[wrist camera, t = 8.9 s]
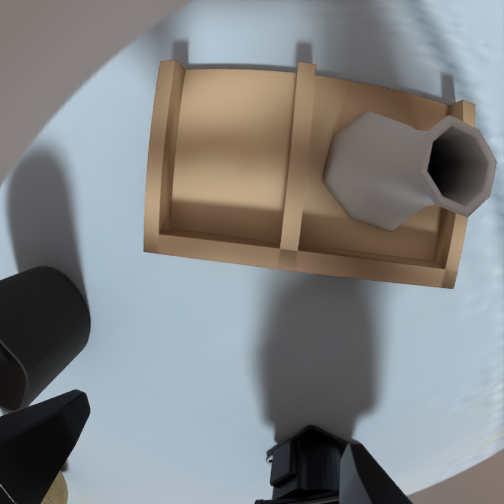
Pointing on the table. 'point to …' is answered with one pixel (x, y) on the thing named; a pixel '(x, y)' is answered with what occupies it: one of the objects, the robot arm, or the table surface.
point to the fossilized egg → (57, 491)
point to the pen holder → (37, 333)
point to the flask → (407, 169)
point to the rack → (282, 176)
